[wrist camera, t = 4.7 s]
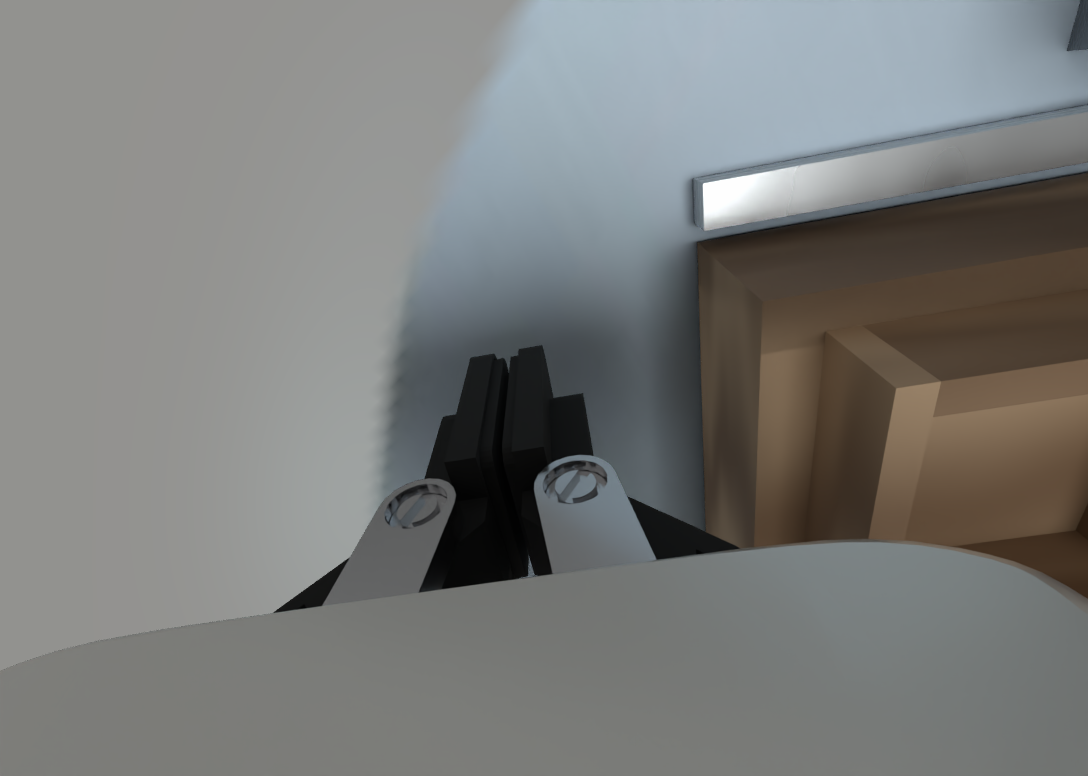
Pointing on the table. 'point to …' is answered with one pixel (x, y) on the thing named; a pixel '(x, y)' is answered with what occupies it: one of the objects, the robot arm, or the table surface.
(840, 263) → the cradle
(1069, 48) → the gray rectangular block
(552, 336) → the table surface
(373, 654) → the robot arm
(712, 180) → the rail
